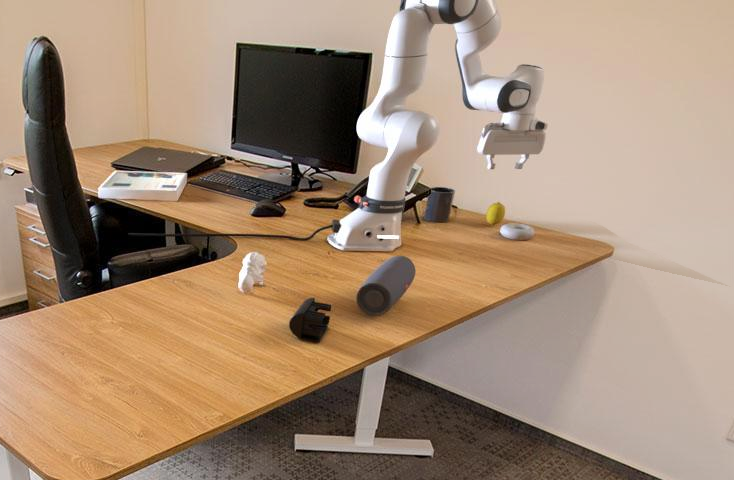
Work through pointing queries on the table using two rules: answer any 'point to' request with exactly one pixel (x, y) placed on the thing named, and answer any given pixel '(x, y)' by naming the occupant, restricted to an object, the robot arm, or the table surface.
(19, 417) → the table surface
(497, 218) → the lemon
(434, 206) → the pen cup
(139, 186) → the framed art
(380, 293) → the bluetooth speaker
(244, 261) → the white figurine
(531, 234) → the donut
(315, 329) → the end cap
